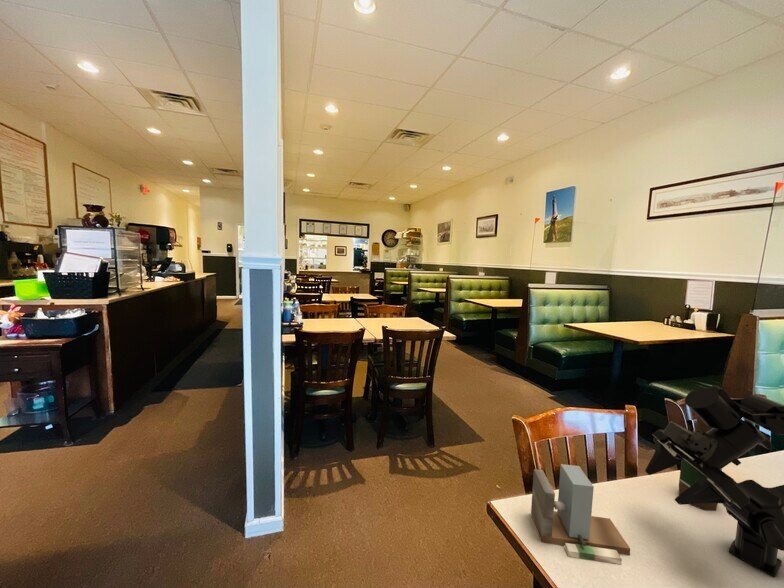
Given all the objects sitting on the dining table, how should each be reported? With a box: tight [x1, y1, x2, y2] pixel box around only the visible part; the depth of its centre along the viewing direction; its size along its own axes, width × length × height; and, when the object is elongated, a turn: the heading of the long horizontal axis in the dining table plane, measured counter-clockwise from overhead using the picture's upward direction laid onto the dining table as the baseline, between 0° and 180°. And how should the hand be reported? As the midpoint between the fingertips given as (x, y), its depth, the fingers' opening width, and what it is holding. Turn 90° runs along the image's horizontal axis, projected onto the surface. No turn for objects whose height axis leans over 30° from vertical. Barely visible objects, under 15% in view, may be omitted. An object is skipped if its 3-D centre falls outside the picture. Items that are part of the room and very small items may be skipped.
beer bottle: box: [678, 415, 723, 511], centre depth 81 cm, size 8×8×24 cm
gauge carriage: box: [554, 463, 594, 546], centre depth 69 cm, size 6×9×12 cm, turn 171°
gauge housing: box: [530, 468, 631, 565], centre depth 69 cm, size 18×11×12 cm, turn 81°
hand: (660, 486), depth 67 cm, fingers open, 9 cm apart
